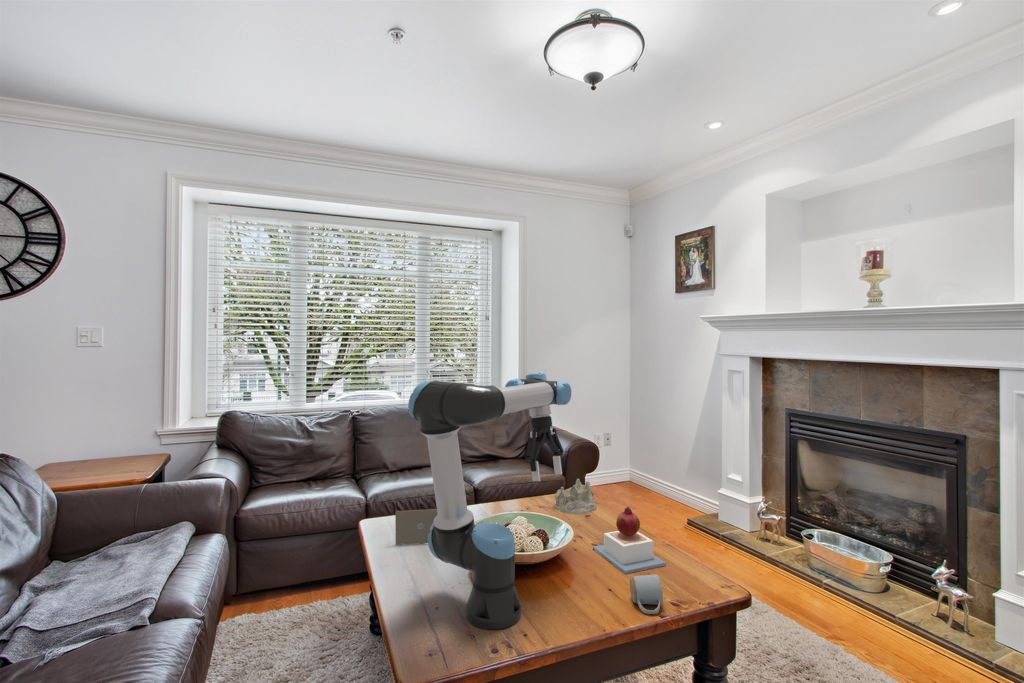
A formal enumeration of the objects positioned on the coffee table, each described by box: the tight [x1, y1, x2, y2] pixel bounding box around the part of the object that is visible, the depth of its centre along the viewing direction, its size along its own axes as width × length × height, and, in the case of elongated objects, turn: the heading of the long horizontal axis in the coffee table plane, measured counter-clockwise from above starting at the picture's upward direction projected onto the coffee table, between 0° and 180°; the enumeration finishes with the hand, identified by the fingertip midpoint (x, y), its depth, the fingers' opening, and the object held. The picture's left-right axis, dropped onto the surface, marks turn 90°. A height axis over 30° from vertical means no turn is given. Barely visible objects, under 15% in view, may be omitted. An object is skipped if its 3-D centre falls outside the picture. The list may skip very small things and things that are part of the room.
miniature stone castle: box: [554, 478, 597, 515], centre depth 223 cm, size 16×16×15 cm
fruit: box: [615, 506, 641, 536], centre depth 173 cm, size 8×8×10 cm
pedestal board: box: [592, 530, 667, 575], centre depth 173 cm, size 20×16×7 cm
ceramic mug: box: [629, 574, 664, 615], centre depth 142 cm, size 11×8×8 cm
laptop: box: [394, 508, 438, 546], centre depth 190 cm, size 18×12×13 cm
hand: (547, 477), depth 174 cm, fingers open, 13 cm apart
